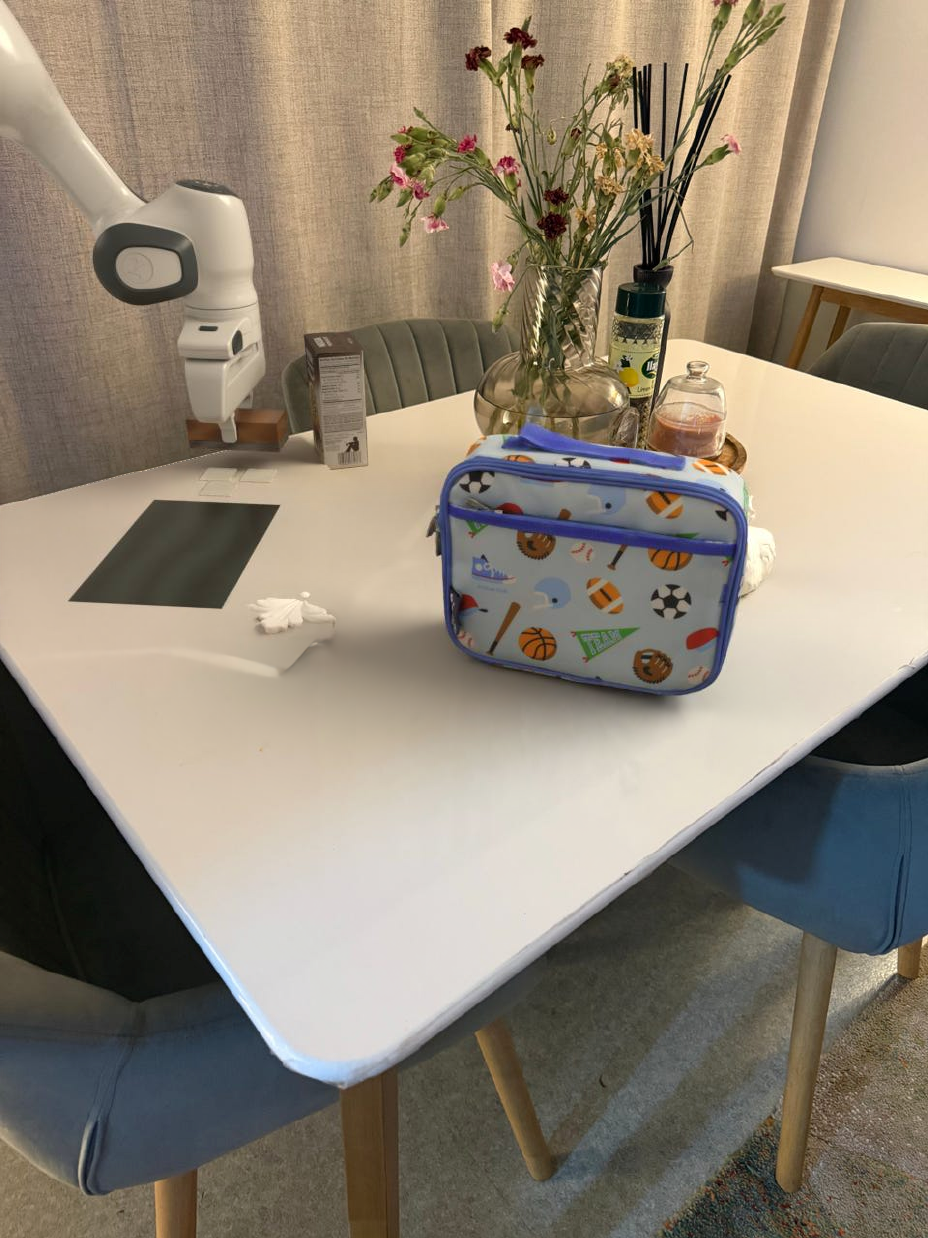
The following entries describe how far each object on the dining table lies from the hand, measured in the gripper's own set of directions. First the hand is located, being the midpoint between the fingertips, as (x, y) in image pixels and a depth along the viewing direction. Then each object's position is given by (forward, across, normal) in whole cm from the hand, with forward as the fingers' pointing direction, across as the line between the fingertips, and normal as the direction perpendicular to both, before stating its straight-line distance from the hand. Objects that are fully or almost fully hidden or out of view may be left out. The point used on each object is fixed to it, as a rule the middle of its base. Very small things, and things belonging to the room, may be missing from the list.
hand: (238, 431), depth 117 cm
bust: (+5, +25, +60) cm, 65 cm away
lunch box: (+6, +40, +44) cm, 60 cm away
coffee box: (+6, -6, +12) cm, 15 cm away
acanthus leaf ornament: (+6, +36, +15) cm, 39 cm away
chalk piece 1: (+6, +4, -2) cm, 7 cm away
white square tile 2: (+6, +4, +3) cm, 7 cm away
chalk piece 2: (+6, +8, -1) cm, 10 cm away
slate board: (+6, +24, 0) cm, 24 cm away
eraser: (+2, 0, 0) cm, 2 cm away
